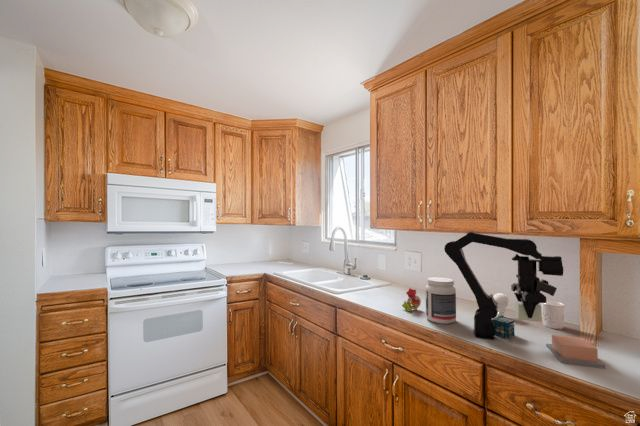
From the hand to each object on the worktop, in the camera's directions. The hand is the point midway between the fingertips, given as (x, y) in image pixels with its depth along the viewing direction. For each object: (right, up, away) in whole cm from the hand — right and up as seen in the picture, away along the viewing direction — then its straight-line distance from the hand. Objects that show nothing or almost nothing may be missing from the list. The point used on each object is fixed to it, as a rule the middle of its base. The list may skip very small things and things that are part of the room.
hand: (527, 315), depth 110 cm
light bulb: (+9, -11, +31) cm, 34 cm away
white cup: (+23, -11, +18) cm, 31 cm away
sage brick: (0, -1, 0) cm, 1 cm away
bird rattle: (-30, -11, +40) cm, 52 cm away
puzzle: (-4, -11, +8) cm, 14 cm away
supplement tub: (-22, -11, +25) cm, 35 cm away
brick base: (+8, -10, -10) cm, 16 cm away
